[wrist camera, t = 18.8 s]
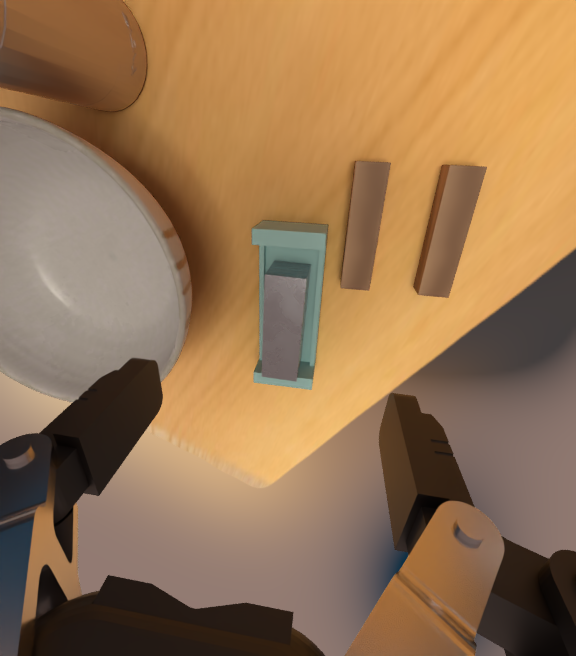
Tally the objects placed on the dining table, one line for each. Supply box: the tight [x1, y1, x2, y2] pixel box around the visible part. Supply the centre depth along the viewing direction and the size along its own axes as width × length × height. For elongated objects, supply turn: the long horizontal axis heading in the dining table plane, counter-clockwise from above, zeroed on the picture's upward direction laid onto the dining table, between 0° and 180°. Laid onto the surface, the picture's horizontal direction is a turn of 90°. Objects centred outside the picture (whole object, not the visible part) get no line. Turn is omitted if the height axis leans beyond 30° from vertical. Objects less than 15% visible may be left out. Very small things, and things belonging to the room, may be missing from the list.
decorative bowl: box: [0, 107, 192, 402], centre depth 33 cm, size 27×27×12 cm
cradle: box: [252, 220, 328, 390], centre depth 36 cm, size 7×18×5 cm, turn 178°
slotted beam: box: [341, 161, 487, 298], centre depth 32 cm, size 11×12×2 cm
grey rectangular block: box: [261, 260, 311, 382], centre depth 35 cm, size 4×12×5 cm, turn 176°
